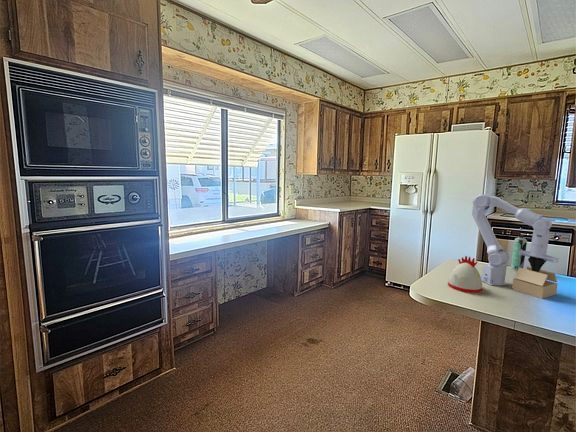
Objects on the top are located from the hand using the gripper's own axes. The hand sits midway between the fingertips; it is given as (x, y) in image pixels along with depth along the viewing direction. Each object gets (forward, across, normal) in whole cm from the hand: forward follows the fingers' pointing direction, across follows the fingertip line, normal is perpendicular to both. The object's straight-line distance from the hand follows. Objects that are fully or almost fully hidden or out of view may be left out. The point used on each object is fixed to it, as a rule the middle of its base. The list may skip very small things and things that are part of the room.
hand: (535, 274), depth 142 cm
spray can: (+9, +22, -29) cm, 37 cm away
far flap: (+1, 0, -5) cm, 5 cm away
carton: (+8, 0, -1) cm, 8 cm away
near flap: (+1, 0, +3) cm, 4 cm away
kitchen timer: (+9, +16, +24) cm, 30 cm away
